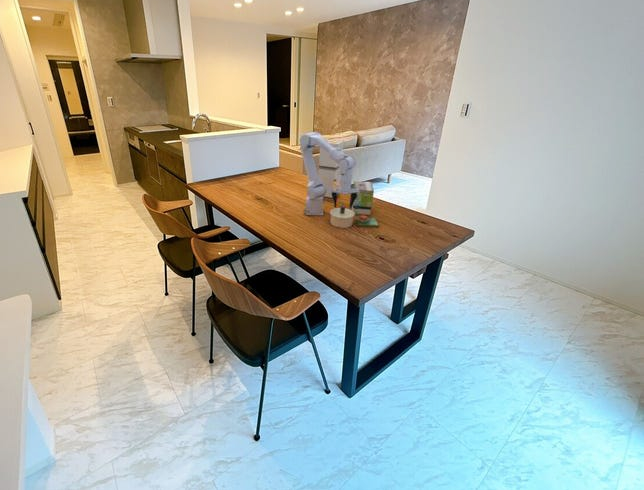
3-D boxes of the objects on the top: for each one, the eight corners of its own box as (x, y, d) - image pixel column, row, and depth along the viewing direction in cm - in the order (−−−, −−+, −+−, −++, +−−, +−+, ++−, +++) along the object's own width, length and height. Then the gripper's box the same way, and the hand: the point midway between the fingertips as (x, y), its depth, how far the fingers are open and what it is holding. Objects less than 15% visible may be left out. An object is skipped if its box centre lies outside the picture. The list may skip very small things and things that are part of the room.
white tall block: (333, 201, 182) (338, 143, 168) (317, 198, 187) (320, 142, 172) (338, 194, 191) (343, 140, 177) (323, 192, 196) (326, 138, 181)
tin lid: (334, 220, 147) (335, 212, 145) (326, 210, 158) (327, 202, 156) (358, 218, 149) (359, 210, 147) (348, 208, 160) (349, 201, 158)
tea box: (370, 215, 163) (374, 190, 157) (352, 214, 165) (354, 189, 159) (368, 204, 176) (371, 181, 170) (351, 203, 178) (353, 180, 172)
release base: (357, 226, 151) (358, 221, 150) (355, 219, 158) (356, 214, 157) (378, 227, 150) (379, 222, 149) (374, 220, 158) (375, 215, 156)
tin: (334, 228, 149) (335, 219, 147) (327, 219, 160) (327, 209, 157) (356, 226, 151) (357, 217, 149) (347, 217, 161) (348, 208, 159)
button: (360, 220, 152) (360, 217, 151) (359, 217, 155) (359, 214, 154) (367, 220, 152) (367, 217, 151) (365, 217, 155) (366, 215, 154)
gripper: (331, 183, 143) (329, 209, 149) (361, 184, 142) (358, 210, 147) (329, 179, 149) (328, 204, 155) (359, 179, 148) (356, 204, 154)
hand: (342, 206), depth 152 cm, fingers open, 7 cm apart
